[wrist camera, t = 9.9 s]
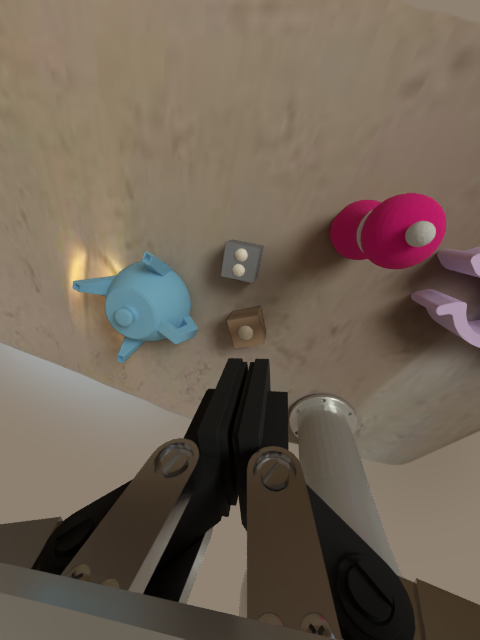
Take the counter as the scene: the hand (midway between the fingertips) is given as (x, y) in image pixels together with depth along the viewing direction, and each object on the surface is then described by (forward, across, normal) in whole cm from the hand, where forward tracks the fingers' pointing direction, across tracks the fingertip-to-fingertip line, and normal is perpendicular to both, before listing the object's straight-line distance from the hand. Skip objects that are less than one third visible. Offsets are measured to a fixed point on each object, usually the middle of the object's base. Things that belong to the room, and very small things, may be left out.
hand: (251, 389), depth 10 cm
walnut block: (+31, +5, +9) cm, 33 cm away
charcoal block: (+31, +5, -2) cm, 32 cm away
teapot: (+31, +22, +4) cm, 39 cm away
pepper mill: (+31, -11, -5) cm, 34 cm away
